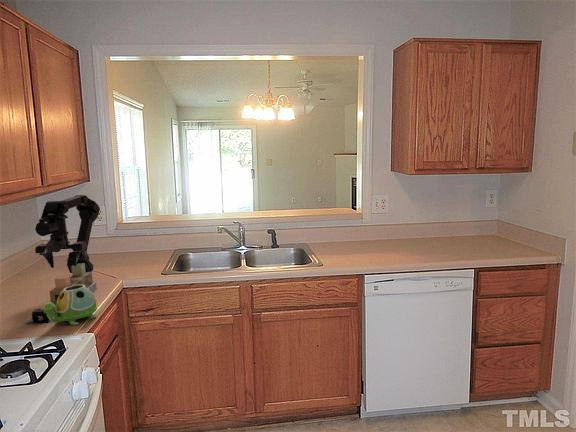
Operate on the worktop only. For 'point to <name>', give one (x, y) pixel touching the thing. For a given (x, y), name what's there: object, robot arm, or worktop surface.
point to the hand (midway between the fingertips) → (64, 267)
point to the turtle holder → (72, 305)
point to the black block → (36, 319)
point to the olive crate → (78, 269)
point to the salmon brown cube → (62, 281)
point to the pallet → (72, 284)
